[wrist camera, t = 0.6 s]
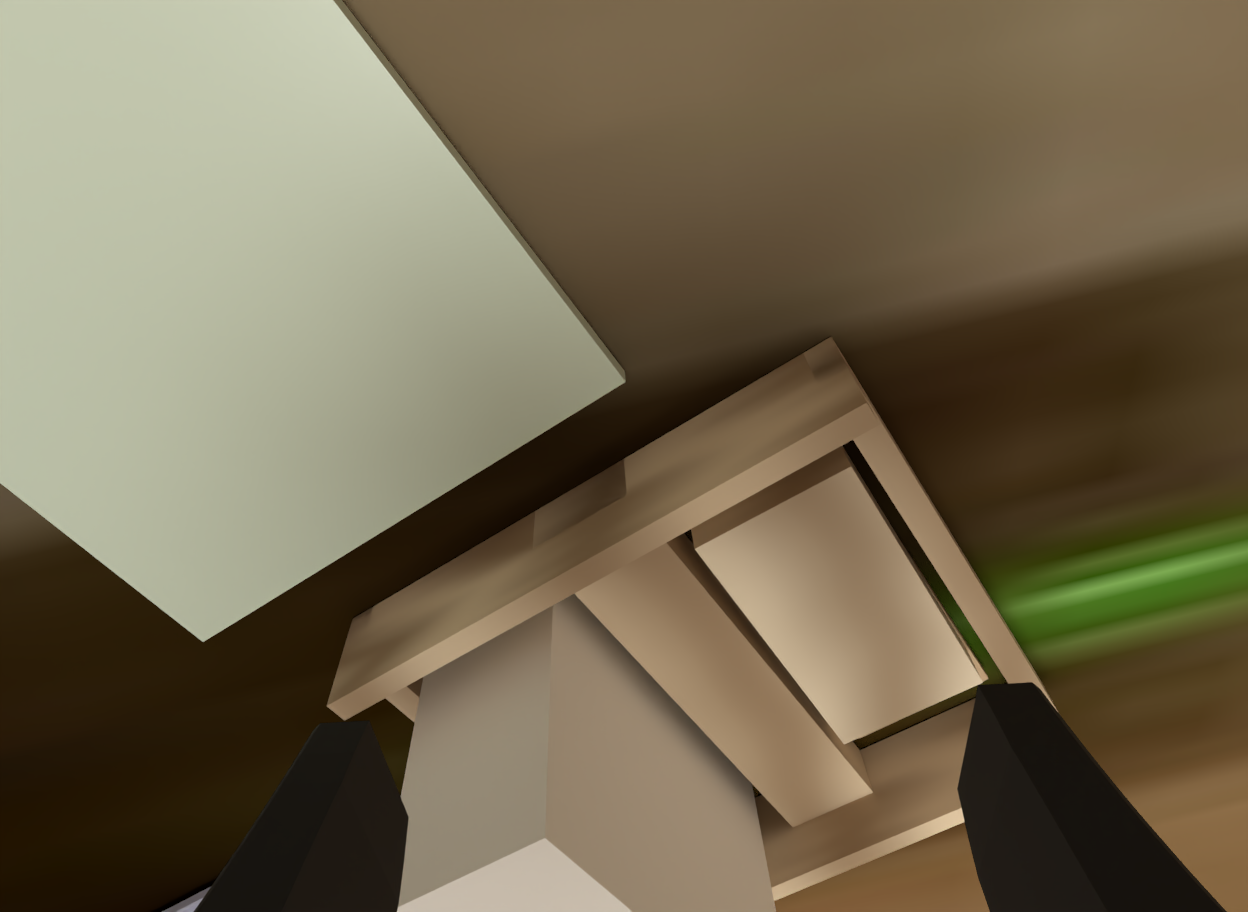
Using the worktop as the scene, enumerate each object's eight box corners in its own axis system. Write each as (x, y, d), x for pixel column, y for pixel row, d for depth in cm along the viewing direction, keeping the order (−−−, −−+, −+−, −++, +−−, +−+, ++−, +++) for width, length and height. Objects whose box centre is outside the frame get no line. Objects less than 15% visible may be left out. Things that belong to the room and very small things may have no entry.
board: (209, 628, 24) (203, 642, 24) (-295, 227, 18) (-316, 235, 18) (624, 371, 21) (625, 382, 21) (168, -228, 15) (156, -230, 15)
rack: (633, 866, 31) (638, 957, 28) (352, 618, 24) (326, 706, 22) (1042, 683, 27) (1090, 769, 24) (831, 336, 21) (866, 402, 18)
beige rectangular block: (639, 823, 30) (657, 1108, 23) (431, 630, 25) (378, 916, 18) (749, 772, 28) (802, 1055, 22) (554, 561, 24) (544, 837, 17)
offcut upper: (833, 711, 26) (843, 744, 25) (689, 519, 23) (694, 548, 22) (966, 649, 25) (983, 682, 24) (838, 438, 22) (851, 466, 21)
